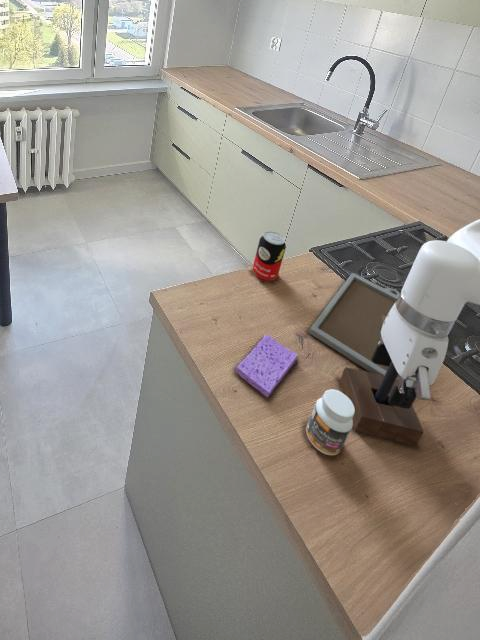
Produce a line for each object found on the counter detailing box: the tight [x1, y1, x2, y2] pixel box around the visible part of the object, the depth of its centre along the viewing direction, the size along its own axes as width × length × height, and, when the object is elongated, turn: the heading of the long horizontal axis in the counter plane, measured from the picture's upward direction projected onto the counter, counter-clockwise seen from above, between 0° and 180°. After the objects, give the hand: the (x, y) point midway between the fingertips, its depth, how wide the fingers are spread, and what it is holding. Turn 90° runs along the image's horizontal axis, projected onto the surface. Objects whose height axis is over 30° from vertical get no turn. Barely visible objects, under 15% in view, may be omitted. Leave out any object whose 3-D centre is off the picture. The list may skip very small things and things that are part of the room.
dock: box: [339, 366, 425, 446], centre depth 78 cm, size 10×10×4 cm
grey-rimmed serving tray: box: [308, 272, 415, 388], centre depth 97 cm, size 19×2×30 cm
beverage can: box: [252, 231, 287, 281], centre depth 108 cm, size 6×6×12 cm
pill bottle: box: [305, 389, 355, 456], centre depth 71 cm, size 6×6×10 cm
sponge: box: [235, 333, 299, 398], centre depth 85 cm, size 7×13×2 cm, turn 132°
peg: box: [374, 361, 398, 404], centre depth 76 cm, size 2×2×13 cm
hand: (389, 382), depth 75 cm, fingers open, 7 cm apart
